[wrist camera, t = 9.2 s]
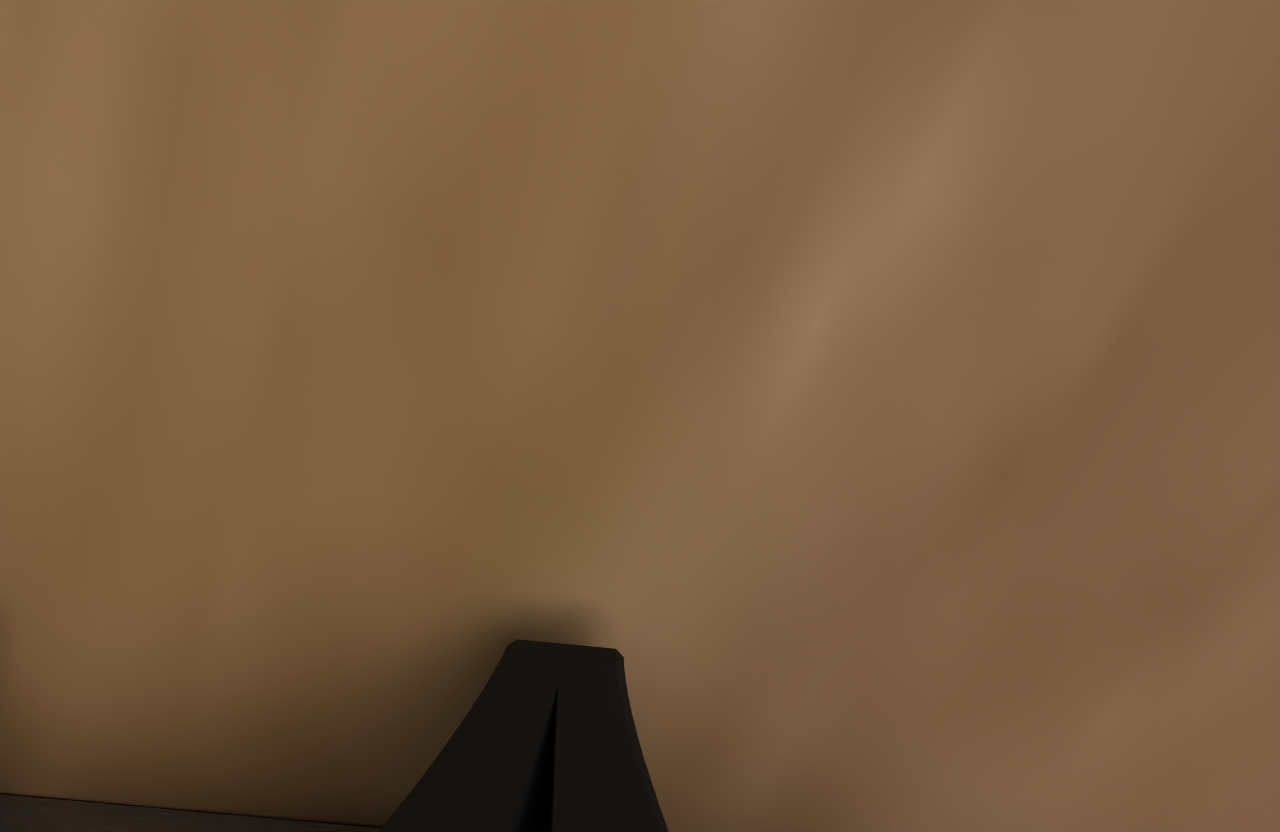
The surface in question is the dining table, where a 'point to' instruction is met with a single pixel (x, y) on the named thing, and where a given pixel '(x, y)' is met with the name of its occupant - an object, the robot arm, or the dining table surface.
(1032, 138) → the dining table surface
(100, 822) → the rail
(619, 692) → the robot arm
